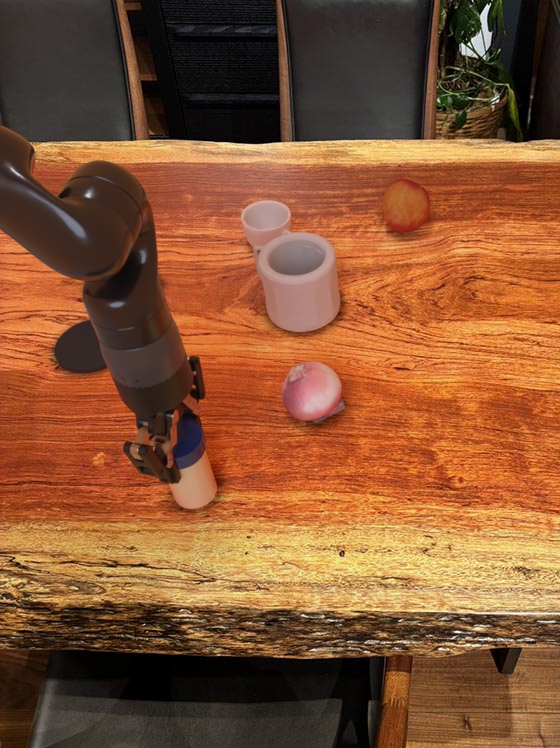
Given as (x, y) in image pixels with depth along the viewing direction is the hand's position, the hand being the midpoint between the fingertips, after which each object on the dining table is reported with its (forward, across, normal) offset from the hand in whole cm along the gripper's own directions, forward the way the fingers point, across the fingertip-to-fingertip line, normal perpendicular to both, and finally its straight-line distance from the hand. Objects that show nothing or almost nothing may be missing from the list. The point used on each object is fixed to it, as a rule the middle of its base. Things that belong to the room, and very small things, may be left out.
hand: (183, 456), depth 91 cm
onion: (+7, +15, -10) cm, 20 cm away
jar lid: (-3, 0, 0) cm, 3 cm away
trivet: (+7, +19, +24) cm, 31 cm away
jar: (+7, 0, 0) cm, 7 cm away
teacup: (+7, +46, +6) cm, 47 cm away
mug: (+7, +34, -2) cm, 34 cm away
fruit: (+7, +55, -13) cm, 57 cm away
